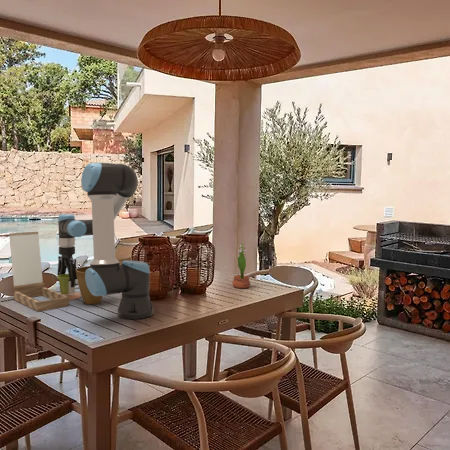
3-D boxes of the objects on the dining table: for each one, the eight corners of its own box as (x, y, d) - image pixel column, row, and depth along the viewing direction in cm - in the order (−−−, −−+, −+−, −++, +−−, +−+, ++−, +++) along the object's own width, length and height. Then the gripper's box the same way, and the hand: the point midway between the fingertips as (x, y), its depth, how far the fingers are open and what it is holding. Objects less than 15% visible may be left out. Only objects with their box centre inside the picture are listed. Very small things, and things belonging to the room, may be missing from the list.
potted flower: (230, 284, 258) (231, 240, 255) (248, 284, 259) (249, 241, 256) (233, 289, 246) (234, 243, 243) (251, 289, 247) (252, 243, 244)
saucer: (86, 297, 222) (86, 295, 222) (60, 301, 212) (60, 300, 212) (73, 292, 231) (73, 290, 231) (48, 296, 221) (48, 294, 221)
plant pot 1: (80, 291, 226) (80, 274, 225) (72, 295, 216) (72, 277, 215) (62, 290, 226) (62, 273, 226) (53, 295, 217) (53, 277, 216)
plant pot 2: (69, 303, 210) (68, 269, 208) (92, 296, 223) (92, 264, 221) (93, 308, 203) (92, 273, 201) (115, 301, 216) (115, 268, 214)
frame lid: (38, 231, 224) (37, 231, 225) (9, 233, 214) (8, 233, 215) (42, 282, 224) (41, 282, 224) (14, 286, 214) (13, 286, 214)
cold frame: (69, 305, 206) (69, 292, 206) (38, 311, 196) (37, 298, 195) (43, 294, 224) (43, 282, 224) (13, 299, 214) (13, 287, 214)
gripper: (84, 248, 215) (85, 294, 217) (63, 243, 229) (64, 287, 231) (70, 249, 209) (70, 297, 211) (49, 244, 224) (50, 289, 226)
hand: (67, 291), depth 221 cm, fingers closed on plant pot 1, 8 cm apart
